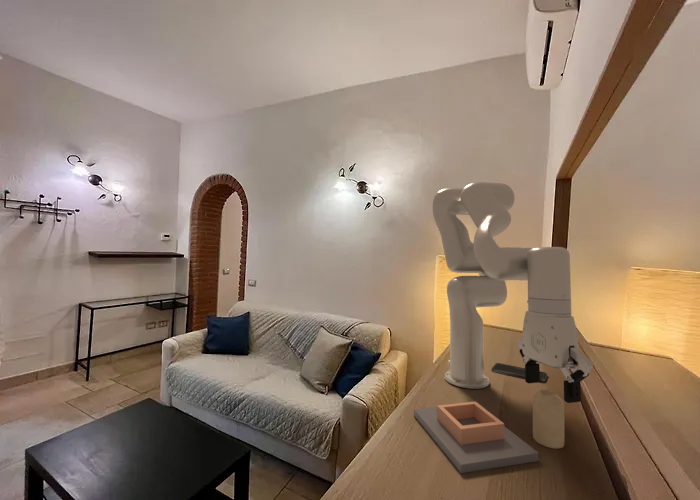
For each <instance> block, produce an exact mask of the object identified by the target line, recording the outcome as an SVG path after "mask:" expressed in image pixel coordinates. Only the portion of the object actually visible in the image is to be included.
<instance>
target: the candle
mask: <svg viewBox="0 0 700 500" xmlns="http://www.w3.org/2000/svg"><path fill="white" fill-rule="evenodd" d="M532 438H533V440H534V441H535V442H536V443H538V444H539V445H541V446H544V447H547V448H550V449H554V450H555V449H558V450H559V449H562V448H564V446H565V400H564V399H562V398H561V397H560V396H558V394H556V392H554V391H551V390H550V389H540V390H539V391H537V392H536V393H534V394H533V395H532Z"/></svg>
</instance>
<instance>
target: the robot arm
mask: <svg viewBox="0 0 700 500" xmlns="http://www.w3.org/2000/svg"><path fill="white" fill-rule="evenodd" d="M514 203H515V193H514V191H513V189H512V188H511V187H510V185H509V184H506V183H502V182H485V181H481V182H480V181H479V182H478V181H475V182H472V183H469V184H467V185H466V186H465V187H463V188H459V187H448V188H443V189H440V190H439V191H437V192H436V193H435V195H434V197H433V200H432V215H433V216H432V217H433V219H434V223H435V225H436V227H437V229H438V231H439V234H440V237H441V242H442V247H443V251H444V252H443V253H444V256H445V262H446V266H447V268H448V270H449V271H450V272H452V273H456V274H478V275H460V276H459V275H458V276H456V277H453V278H450V280H449V281H448V283H447V285H446V296H447V300H448V309H449V328H450V329H449V345H450V346H449V360H447V361H446V363H447V364H448V365H449V369H448V370H447V371H446V372H445V373H444V379H445V380H446V381H447V382H448V383H449V384H451V385H454V386H457V387H459V388H463V389H472V390H473V389H475V390H476V389H478V390H479V389H484V388H486V387H488V386H489V385H490V378H489V377H488V376H487V375H485V374H484V369H485V368H484V367H485V366H484V364H485V363H484V360H485V359H484V357H485V356H484V354H485V353H484V349H485V347H484V344H485V343H484V342H485V341H484V339H485V337H484V335H485V333H484V331H485V330H484V328H485V327H484V320H483V318H482V316H481V315H480V314H479V312H478V310H477V308H493V307H499V306H502V305H504V304H505V302H506V301H507V297H508V289H507V288H508V287H507V284H506V281H527V300H526V301H527V308H528V309H527V310H526V311H525V313H524V314H525V315H524V318H523V324H522V325H523V326H522V338H519V339H517V340H516V344H517V347H518V349H519V355H520V356H521V358H522V362H523V364H524V368H525V379H524V381H525V383H526V384H536V383H541V382H540V364H542V365H544V366H547V367H551V368H552V369H560V371H561V372H562V374H563V375H564V377H565V379H566V380H563V401H564V403H567V404H572V403H573V404H574V403H580V402H581V401H582V396H581V395H582V391H581V387H582V386H581V382H584V381H585V379H587V377H589V375H590V372H591V371H592V368H593V366H594V363H593V362H592V361H591V360H590V359H589V358H588V357H587V356H585V355H584V353H583V354H582V352H580V348H579V347H580V345H579V344H580V343H579V338H578V330H577V327H576V322H575V318H574V316H573V315H572V290H571V289H572V286H571V284H572V283H571V254H570V252H569V250H568V248H565V247H562V246H542V247H541V246H540V247H506V246H505V247H500V246H499V245H498V244H497V242H496V241H495V239H494V237H496V236H498V235H501V233H503V232H504V231H506V229H507V228H508V227H509V226H510V225H511V221H512V215H511V213H510V212H509V210H510V209H511V208H512V207H513V206H514ZM457 215H458V216H459V215H460V216H469V217H470V218H471V220H472V222H473V224H474V225H475V227H476V228H477V229H476V231H475V234H474V236H473V242H472V240H471V239H470V235H469V230H468V228H467V226H466V225H465V224H464V222H462V220H461V219H459V218H458V217H457Z"/></svg>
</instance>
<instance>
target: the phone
mask: <svg viewBox="0 0 700 500" xmlns="http://www.w3.org/2000/svg"><path fill="white" fill-rule="evenodd" d="M491 372H492V373H497V374H501V375H505V376H511V377H514V378H518V379H523V380H525V367H519V366H515V365H510V364H505V363H499V362H496V363H494V365H493V366H492V367H491ZM547 377H548V373H547V372H544V371H540V382H539V383H545V382H546V380H547Z"/></svg>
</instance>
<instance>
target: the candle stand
mask: <svg viewBox="0 0 700 500" xmlns="http://www.w3.org/2000/svg"><path fill="white" fill-rule="evenodd" d="M413 416H414V417H415V419H416V420H417V421H418V423H419V424H420V425H421V427H423V429H424V430H425V431H426V432H427V434H428V435H429V436H430V437H431V438H432V439H433V441H434V443H436V445H437V446H438V447H439V448H440V450H441V451H442V452H443V453H444V454H445V456H446V457H447V458H448V459H449V460H450V462H451V463H452V464H453V465H454V467H455V468H456V469H457V470H458V472H459V473H460V474H465V473H472V472H478V471H484V470H489V469H490V470H491V469H497V468H504V467H511V466H515V465H523V464H527V463H534V462H539V459H540V458H539V457H540V456H539V455H540V454H539V452H538V451H537V450H536V449H534V448H533V447H532V446H530V445H529V444H528V443H527V442H525V441H524V440H522V439H521V438H520V437H519V436H518V435H516V434H515V433H514V432H513V431H511V430H510V429H509V428H507V427H506V426H505V423H504V422H503V421H501V420H500V419H499V418H498V417H496V416H495V415H494V414H492V413H491V412H490V411H488V410H487V408H485V407H483V406H482V405H481V404H479V402H477V401H469V402H468V401H467V402H459V403H458V402H457V403H451V404H450V403H449V404H439V405H437V406H431V407H420V408H414V409H413Z"/></svg>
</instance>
